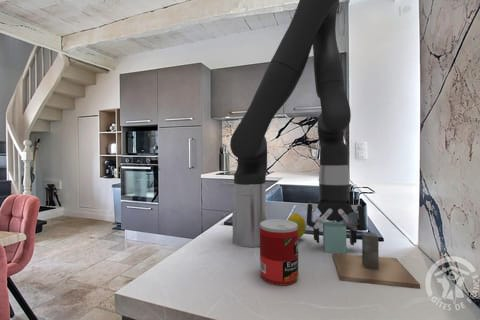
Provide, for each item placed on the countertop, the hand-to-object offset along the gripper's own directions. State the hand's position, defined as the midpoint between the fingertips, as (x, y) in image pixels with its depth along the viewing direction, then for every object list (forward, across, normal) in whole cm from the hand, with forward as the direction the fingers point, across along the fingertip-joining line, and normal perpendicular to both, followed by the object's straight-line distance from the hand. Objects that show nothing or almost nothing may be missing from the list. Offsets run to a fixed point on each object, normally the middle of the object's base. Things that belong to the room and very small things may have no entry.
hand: (334, 243), depth 65 cm
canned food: (+2, -13, -18) cm, 22 cm away
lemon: (+2, -10, +6) cm, 12 cm away
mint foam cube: (+2, 0, 0) cm, 2 cm away
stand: (+2, +6, -11) cm, 13 cm away
